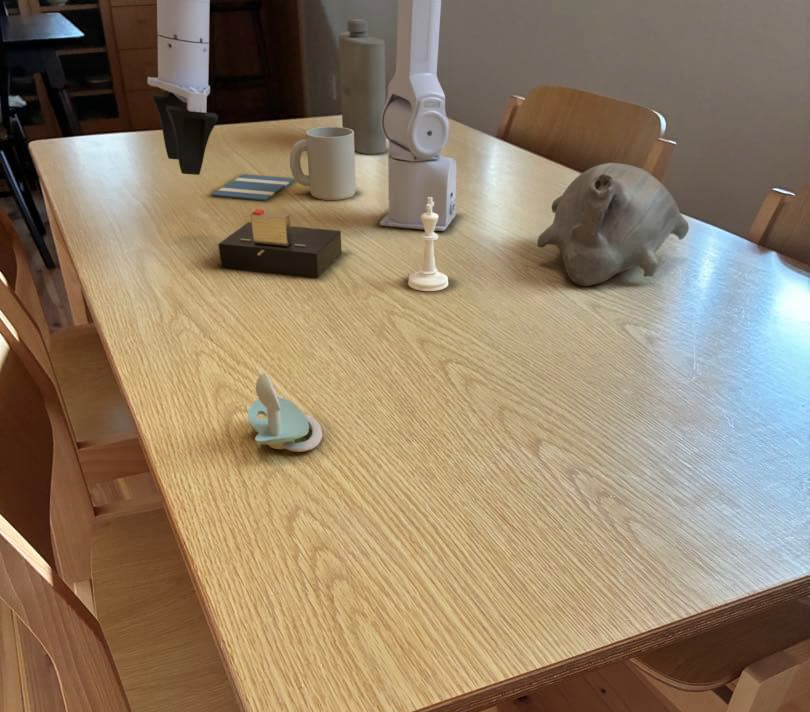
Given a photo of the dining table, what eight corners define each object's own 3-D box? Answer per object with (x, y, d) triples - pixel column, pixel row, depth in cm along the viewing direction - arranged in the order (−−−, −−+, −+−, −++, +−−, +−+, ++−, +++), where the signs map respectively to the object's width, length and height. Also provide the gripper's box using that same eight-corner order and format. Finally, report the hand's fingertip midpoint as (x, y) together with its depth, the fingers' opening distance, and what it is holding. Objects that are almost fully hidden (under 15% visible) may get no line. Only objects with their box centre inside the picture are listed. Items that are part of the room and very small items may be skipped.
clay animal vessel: (638, 293, 92) (592, 174, 88) (533, 328, 105) (487, 225, 100) (705, 237, 102) (665, 127, 98) (601, 275, 115) (562, 179, 110)
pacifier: (311, 414, 73) (245, 422, 72) (309, 350, 70) (239, 357, 68) (331, 455, 68) (260, 465, 66) (329, 389, 64) (254, 397, 63)
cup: (356, 200, 125) (354, 137, 119) (291, 201, 124) (286, 138, 118) (355, 187, 130) (353, 126, 125) (293, 188, 130) (288, 127, 124)
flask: (336, 137, 157) (330, 15, 144) (364, 135, 158) (361, 14, 146) (359, 156, 146) (355, 25, 133) (389, 153, 147) (388, 24, 135)
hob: (341, 253, 106) (340, 229, 104) (311, 285, 97) (309, 259, 95) (250, 244, 109) (247, 220, 107) (213, 274, 100) (209, 248, 98)
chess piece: (453, 279, 99) (456, 193, 93) (441, 293, 95) (444, 206, 89) (415, 274, 100) (416, 189, 94) (402, 288, 97) (402, 201, 90)
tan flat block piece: (292, 242, 100) (289, 211, 98) (287, 246, 99) (284, 215, 97) (258, 239, 101) (255, 208, 99) (253, 243, 100) (250, 212, 98)
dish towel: (293, 180, 133) (293, 178, 133) (265, 201, 124) (264, 198, 124) (243, 176, 135) (243, 174, 135) (211, 196, 126) (211, 194, 126)
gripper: (135, 26, 96) (139, 150, 103) (160, 42, 85) (162, 178, 93) (195, 34, 99) (194, 154, 106) (226, 51, 88) (222, 182, 96)
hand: (183, 166), depth 100 cm, fingers open, 7 cm apart
